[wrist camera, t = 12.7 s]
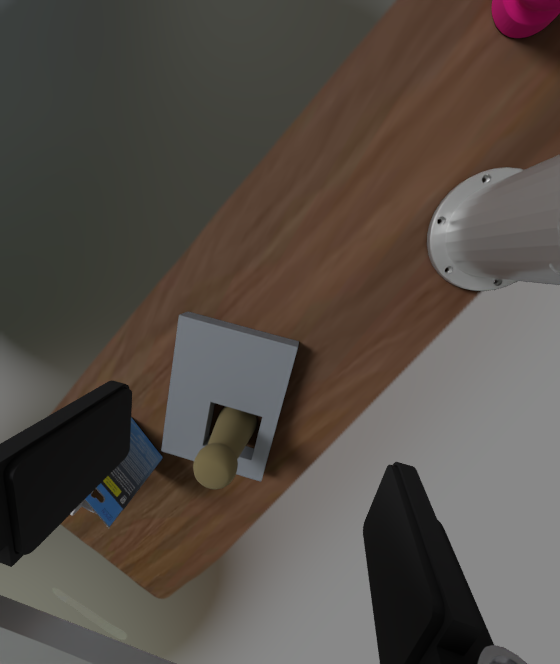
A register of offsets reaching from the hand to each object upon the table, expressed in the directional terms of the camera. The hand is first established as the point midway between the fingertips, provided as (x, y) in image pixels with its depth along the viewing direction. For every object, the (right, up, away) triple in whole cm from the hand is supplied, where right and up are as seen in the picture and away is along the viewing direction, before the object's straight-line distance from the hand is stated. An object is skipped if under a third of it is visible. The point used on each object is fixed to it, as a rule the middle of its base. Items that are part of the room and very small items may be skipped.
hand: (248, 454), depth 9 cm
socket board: (-7, -5, +30) cm, 31 cm away
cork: (-5, -9, +31) cm, 33 cm away
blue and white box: (-22, -14, +35) cm, 44 cm away
